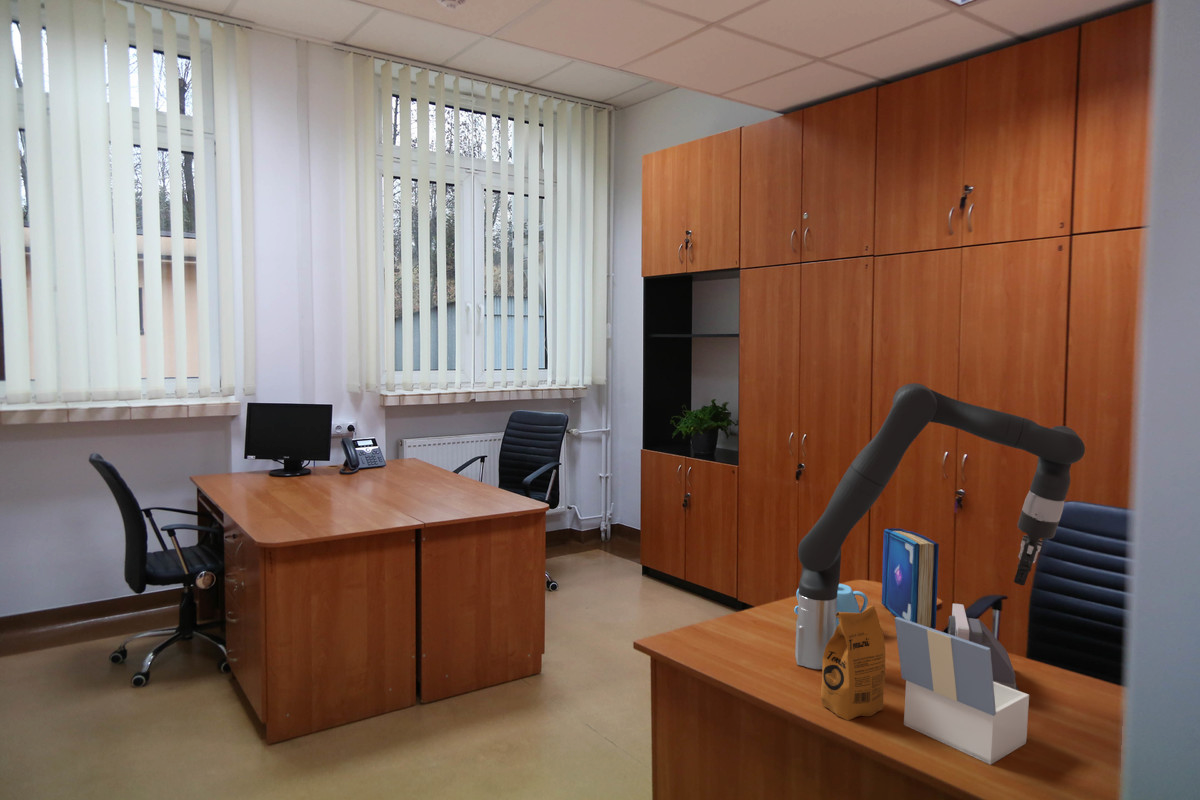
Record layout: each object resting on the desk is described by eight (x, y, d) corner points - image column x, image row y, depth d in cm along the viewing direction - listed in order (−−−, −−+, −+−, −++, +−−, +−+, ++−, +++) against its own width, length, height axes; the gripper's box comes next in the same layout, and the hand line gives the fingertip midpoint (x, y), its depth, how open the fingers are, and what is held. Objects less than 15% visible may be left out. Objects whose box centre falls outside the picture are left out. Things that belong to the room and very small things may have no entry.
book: (877, 604, 230) (881, 524, 228) (899, 604, 231) (903, 524, 229) (912, 631, 209) (916, 543, 207) (936, 631, 209) (941, 543, 207)
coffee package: (813, 702, 166) (817, 605, 164) (856, 693, 171) (860, 598, 169) (845, 724, 157) (849, 621, 155) (890, 713, 162) (894, 613, 160)
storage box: (990, 764, 142) (993, 713, 141) (903, 724, 157) (906, 678, 156) (1026, 743, 150) (1029, 694, 149) (940, 707, 165) (943, 662, 164)
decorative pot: (824, 642, 200) (826, 592, 199) (788, 621, 215) (790, 574, 214) (873, 635, 206) (875, 586, 205) (835, 614, 221) (837, 569, 220)
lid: (996, 713, 141) (993, 716, 140) (904, 676, 156) (901, 678, 156) (990, 648, 138) (987, 650, 137) (896, 616, 153) (894, 618, 153)
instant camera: (929, 653, 195) (932, 596, 194) (1020, 671, 184) (1024, 612, 183) (917, 683, 177) (920, 621, 175) (1017, 706, 166) (1021, 640, 165)
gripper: (1025, 499, 176) (1006, 560, 181) (1019, 517, 165) (999, 582, 169) (1061, 509, 173) (1040, 572, 177) (1058, 528, 161) (1036, 595, 166)
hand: (1020, 576), depth 173 cm, fingers open, 8 cm apart
